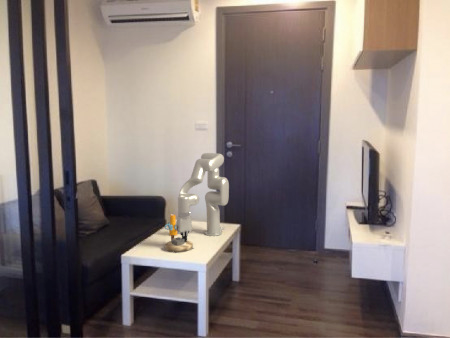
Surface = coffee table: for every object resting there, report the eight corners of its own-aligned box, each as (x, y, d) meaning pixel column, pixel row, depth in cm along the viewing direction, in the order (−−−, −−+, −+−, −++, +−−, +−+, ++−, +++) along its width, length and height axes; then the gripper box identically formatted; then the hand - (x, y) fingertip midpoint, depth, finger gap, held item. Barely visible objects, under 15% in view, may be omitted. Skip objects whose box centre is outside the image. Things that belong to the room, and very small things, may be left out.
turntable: (183, 241, 295) (182, 232, 294) (198, 247, 281) (197, 238, 280) (160, 246, 284) (159, 237, 283) (174, 253, 270) (174, 243, 269)
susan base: (182, 243, 293) (182, 243, 293) (193, 248, 282) (193, 248, 282) (164, 247, 284) (164, 247, 284) (175, 253, 273) (175, 252, 273)
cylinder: (177, 237, 308) (177, 217, 306) (163, 236, 310) (163, 216, 308) (182, 232, 320) (182, 213, 318) (169, 232, 322) (168, 212, 320)
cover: (179, 242, 286) (179, 237, 286) (184, 244, 282) (184, 238, 281) (171, 244, 282) (171, 238, 282) (177, 246, 278) (176, 240, 277)
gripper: (190, 211, 290) (190, 238, 293) (171, 215, 281) (172, 242, 283) (196, 213, 284) (197, 240, 287) (177, 217, 275) (178, 245, 278)
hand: (184, 241), depth 285 cm, fingers closed
